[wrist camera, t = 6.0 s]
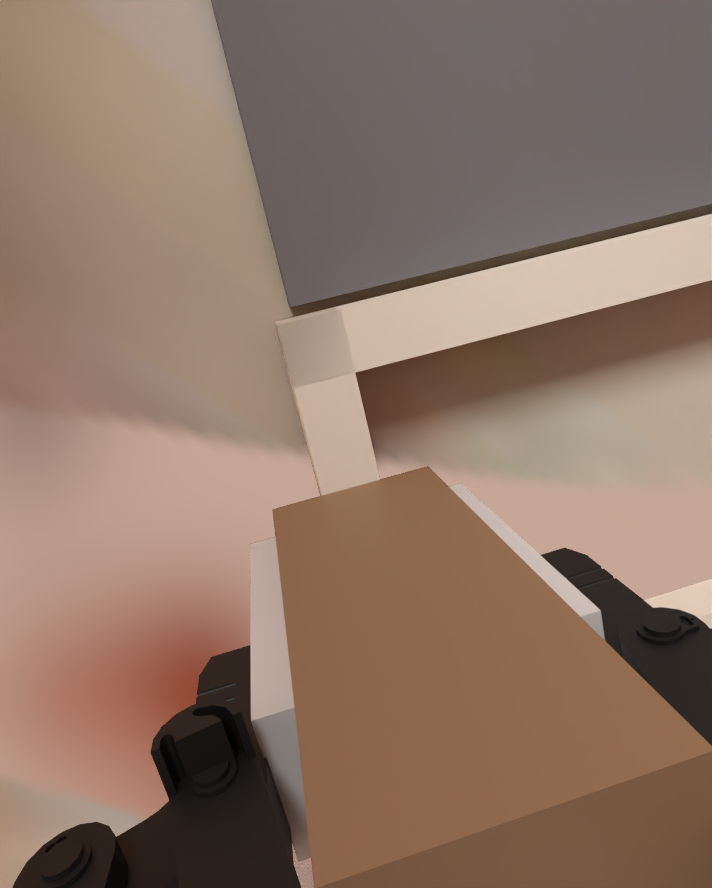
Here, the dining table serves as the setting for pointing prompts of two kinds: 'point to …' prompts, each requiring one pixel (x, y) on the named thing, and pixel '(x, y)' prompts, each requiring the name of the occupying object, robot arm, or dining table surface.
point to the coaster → (464, 126)
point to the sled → (472, 629)
